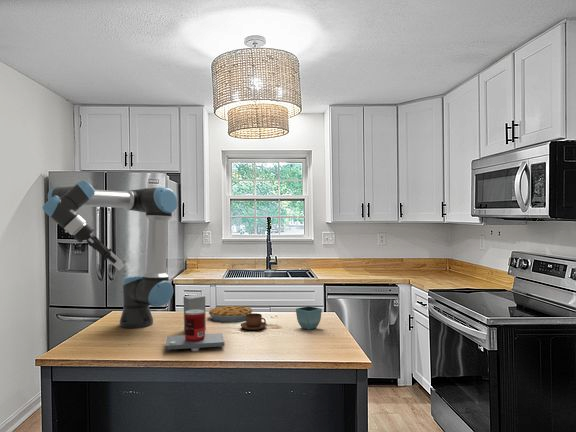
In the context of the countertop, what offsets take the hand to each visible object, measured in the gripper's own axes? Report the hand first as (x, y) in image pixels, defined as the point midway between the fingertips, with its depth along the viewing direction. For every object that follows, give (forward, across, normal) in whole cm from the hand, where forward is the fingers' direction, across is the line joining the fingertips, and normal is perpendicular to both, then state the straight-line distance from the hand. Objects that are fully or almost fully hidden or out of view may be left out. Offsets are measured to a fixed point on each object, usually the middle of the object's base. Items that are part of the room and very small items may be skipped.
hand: (121, 266), depth 188 cm
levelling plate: (+41, +13, -3) cm, 44 cm away
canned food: (+39, +13, -2) cm, 41 cm away
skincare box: (+45, -12, 0) cm, 46 cm away
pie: (+60, -32, +15) cm, 70 cm away
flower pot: (+79, +3, +34) cm, 87 cm away
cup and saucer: (+63, -6, +18) cm, 66 cm away
